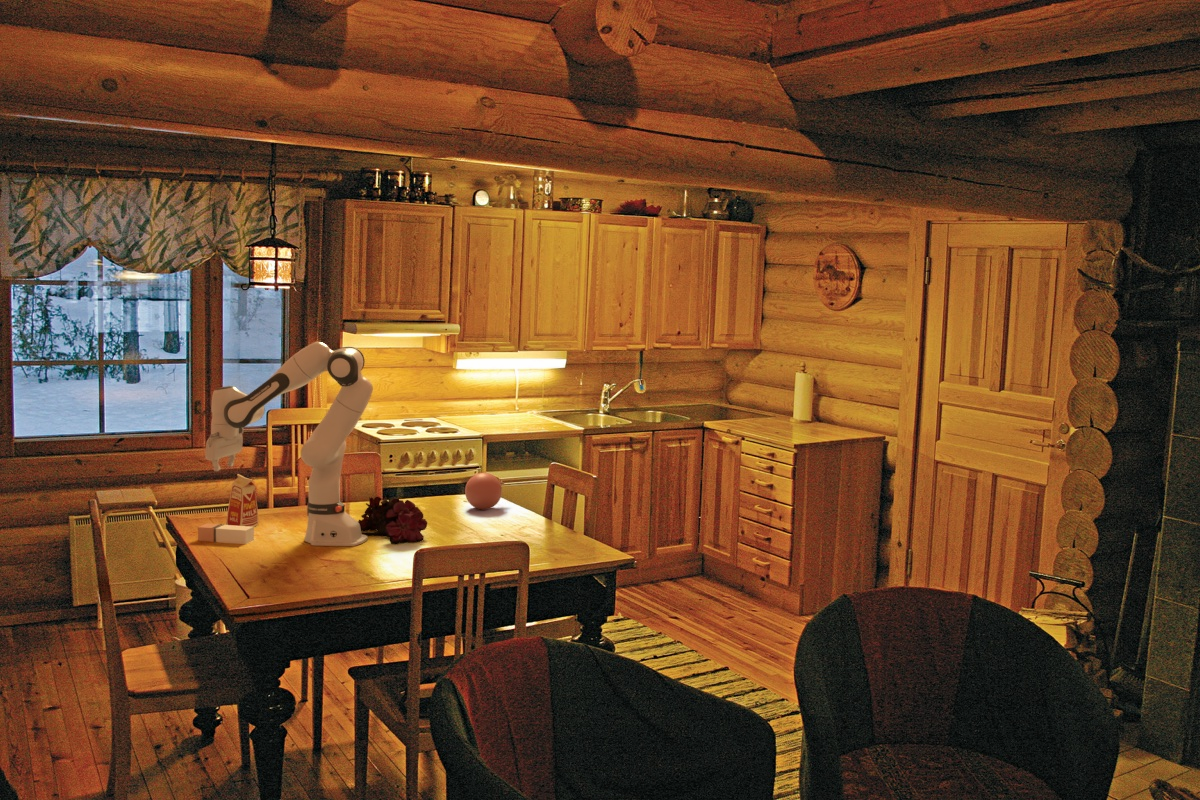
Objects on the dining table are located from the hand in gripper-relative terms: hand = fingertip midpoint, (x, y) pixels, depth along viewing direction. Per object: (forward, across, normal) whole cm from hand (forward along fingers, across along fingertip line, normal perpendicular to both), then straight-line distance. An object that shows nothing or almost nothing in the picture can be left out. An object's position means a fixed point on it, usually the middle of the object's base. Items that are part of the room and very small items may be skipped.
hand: (223, 468), depth 386 cm
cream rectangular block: (+25, -5, -7) cm, 26 cm away
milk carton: (+26, +19, +2) cm, 32 cm away
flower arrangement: (+25, +21, -58) cm, 67 cm away
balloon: (+24, +76, -78) cm, 112 cm away
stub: (+25, -5, +2) cm, 26 cm away
